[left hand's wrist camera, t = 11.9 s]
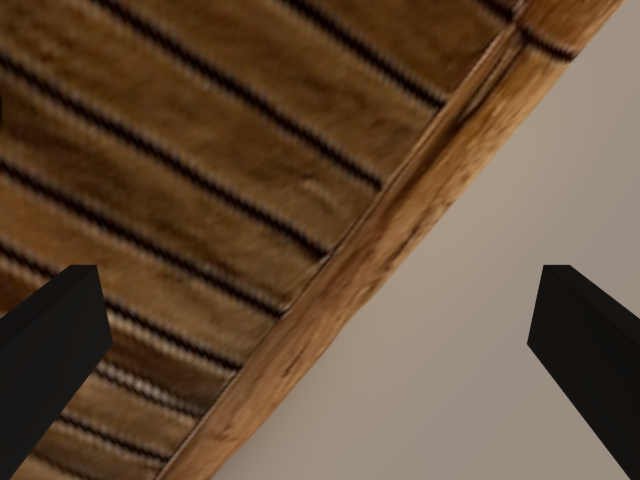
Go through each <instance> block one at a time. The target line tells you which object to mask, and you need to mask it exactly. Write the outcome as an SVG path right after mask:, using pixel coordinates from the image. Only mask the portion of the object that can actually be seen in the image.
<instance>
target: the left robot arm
mask: <svg viewBox="0 0 640 480" xmlns="http://www.w3.org/2000/svg"><path fill="white" fill-rule="evenodd" d="M0 121H1V102H0ZM112 345H113V341H112V337H111V332H110V327H109V322H108V317H107V313H106V308H105V303H104V298H103V294H102V289H101V284H100V279H99V275H98V270H97V265H70V266H68V267H67V268H66V269H64V270H63V271H62V272H61V273H59V274H58V275H57V276H55V277H54V278H53V279H51V280H50V281H49V282H48V283H46V284H45V285H44V286H42V287H41V288H40V289H38V290H37V291H36V292H35V293H33V294H32V295H31V296H29V297H28V298H27V299H25V300H24V301H23V302H22V303H20V304H19V305H18V306H16V307H15V308H14V309H12V310H11V311H10V312H9V313H7V314H6V315H5V316H3V317H2V318H1V319H0V480H10V478H11V477H12V476H13V474H14V473H15V472H16V471H17V469H18V468H19V467H20V465H21V464H22V463H23V461H24V460H25V459H26V457H27V456H28V455H29V453H30V452H31V451H32V450H33V448H34V447H35V446H36V444H37V443H38V442H39V440H40V439H41V438H42V436H43V435H44V434H45V433H46V431H47V430H48V429H49V427H50V426H51V425H52V423H53V422H54V421H55V419H56V418H57V417H58V416H59V414H60V413H61V412H62V410H63V409H64V408H65V406H66V405H67V404H68V402H69V401H70V400H71V398H72V397H73V396H74V395H75V393H76V392H77V391H78V389H79V388H80V387H81V385H82V384H83V383H84V381H85V380H86V379H87V378H88V376H89V375H90V374H91V372H92V371H93V370H94V368H95V367H96V366H97V364H98V363H99V362H100V360H101V359H102V358H103V357H104V355H105V354H106V353H107V351H108V350H109V349H110V347H111V346H112ZM527 345H528V346H529V347H530V349H531V350H532V351H533V353H534V354H535V355H536V357H537V358H538V359H539V360H540V362H541V363H542V364H543V366H544V367H545V368H546V370H547V371H548V372H549V374H550V375H551V376H552V378H553V379H554V380H555V381H556V383H557V384H558V385H559V387H560V388H561V389H562V391H563V392H564V393H565V395H566V396H567V397H568V398H569V400H570V401H571V402H572V404H573V405H574V406H575V408H576V409H577V410H578V412H579V413H580V414H581V416H582V417H583V418H584V419H585V421H586V422H587V423H588V425H589V426H590V427H591V429H592V430H593V431H594V433H595V434H596V435H597V436H598V438H599V439H600V440H601V442H602V443H603V444H604V446H605V447H606V448H607V450H608V451H609V452H610V453H611V455H612V456H613V457H614V459H615V460H616V461H617V463H618V464H619V465H620V467H621V468H622V469H623V470H624V472H625V473H626V474H627V476H628V477H629V478H630V480H640V319H639V318H638V317H637V316H635V315H634V314H633V313H631V312H630V311H629V310H628V309H626V308H625V307H624V306H622V305H621V304H620V303H618V302H617V301H616V300H615V299H613V298H612V297H611V296H609V295H608V294H607V293H605V292H604V291H603V290H601V289H600V288H599V287H598V286H596V285H595V284H594V283H592V282H591V281H590V280H589V279H587V278H586V277H585V276H583V275H582V274H581V273H579V272H578V271H577V270H576V269H574V268H573V267H572V266H570V265H543V270H542V275H541V279H540V284H539V289H538V294H537V299H536V303H535V308H534V313H533V317H532V322H531V327H530V332H529V337H528V341H527Z"/></svg>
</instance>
